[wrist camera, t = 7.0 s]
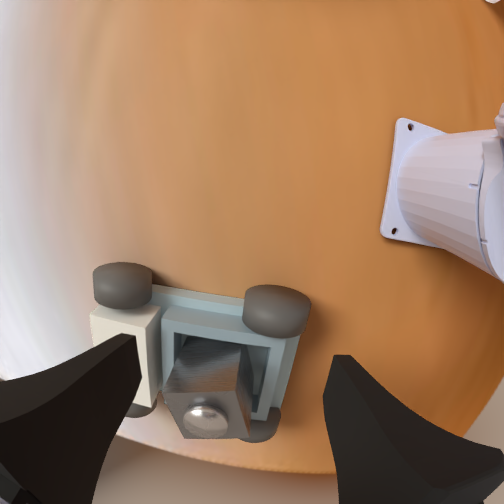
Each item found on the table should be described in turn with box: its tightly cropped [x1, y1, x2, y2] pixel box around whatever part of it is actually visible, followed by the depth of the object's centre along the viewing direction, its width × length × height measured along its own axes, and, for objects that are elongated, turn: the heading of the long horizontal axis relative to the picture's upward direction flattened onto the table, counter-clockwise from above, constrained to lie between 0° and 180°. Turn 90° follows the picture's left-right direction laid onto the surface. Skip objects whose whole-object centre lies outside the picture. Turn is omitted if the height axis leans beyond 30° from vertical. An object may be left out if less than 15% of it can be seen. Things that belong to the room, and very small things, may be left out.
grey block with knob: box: [162, 336, 254, 439], centre depth 17 cm, size 4×4×7 cm
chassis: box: [89, 262, 311, 443], centre depth 19 cm, size 14×12×4 cm
